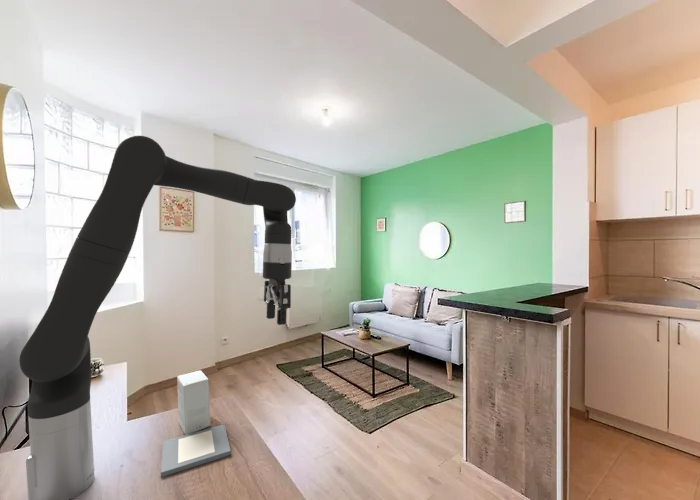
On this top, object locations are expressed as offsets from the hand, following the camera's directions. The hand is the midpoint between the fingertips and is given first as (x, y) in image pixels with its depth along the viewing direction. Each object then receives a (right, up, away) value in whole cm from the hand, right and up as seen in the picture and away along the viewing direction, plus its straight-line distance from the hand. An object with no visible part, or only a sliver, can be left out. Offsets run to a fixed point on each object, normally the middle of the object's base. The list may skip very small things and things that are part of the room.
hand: (275, 321), depth 85 cm
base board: (-17, -29, -9) cm, 35 cm away
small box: (-23, -29, +2) cm, 36 cm away
